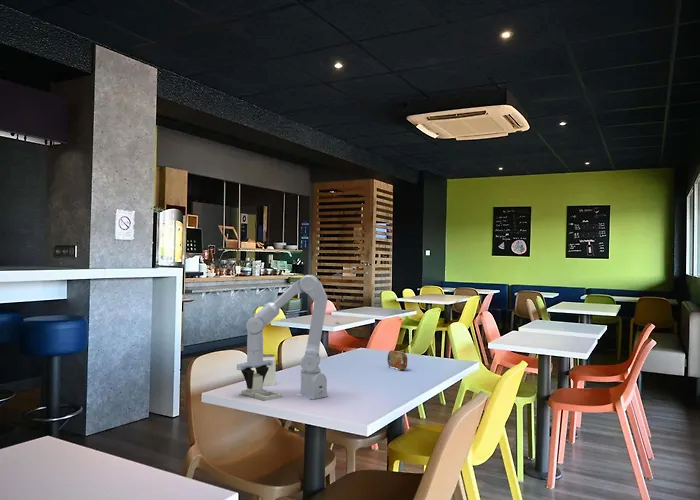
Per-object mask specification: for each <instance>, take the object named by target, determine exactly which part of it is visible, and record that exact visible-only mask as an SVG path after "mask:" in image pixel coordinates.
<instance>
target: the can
mask: <svg viewBox="0 0 700 500" xmlns="http://www.w3.org/2000/svg"><path fill="white" fill-rule="evenodd" d="M263 360H272V366H267V367H269V370H268V372H267V373H266V376H265V378H264V382H263V387H270V386H275V385H276V366H277V363H276V360H277V359H276V357H275V354H267V353H266V354H263Z"/></svg>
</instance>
